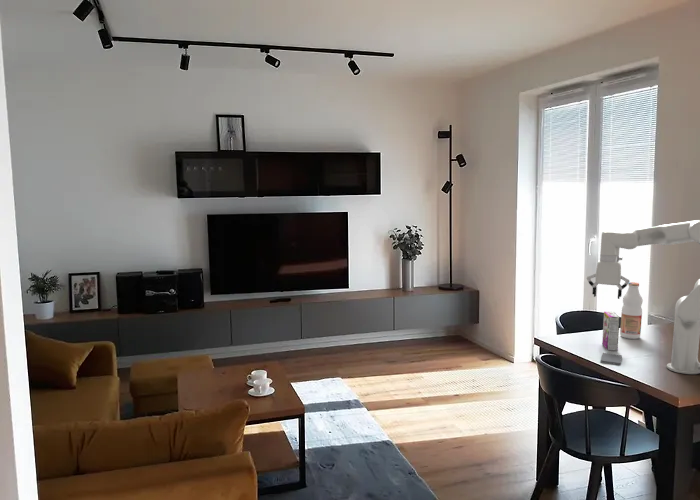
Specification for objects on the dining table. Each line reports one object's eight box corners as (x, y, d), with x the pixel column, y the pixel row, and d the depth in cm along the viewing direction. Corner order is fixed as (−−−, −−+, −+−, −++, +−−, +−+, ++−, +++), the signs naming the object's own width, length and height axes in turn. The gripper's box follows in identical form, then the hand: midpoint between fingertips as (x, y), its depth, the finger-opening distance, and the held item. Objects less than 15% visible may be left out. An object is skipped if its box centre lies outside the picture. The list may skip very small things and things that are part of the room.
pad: (621, 357, 263) (622, 355, 263) (620, 365, 252) (620, 363, 252) (602, 354, 267) (602, 352, 267) (600, 362, 256) (600, 360, 255)
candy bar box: (601, 344, 285) (603, 311, 283) (612, 344, 284) (614, 311, 282) (606, 350, 274) (608, 316, 272) (617, 351, 273) (620, 317, 271)
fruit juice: (615, 334, 303) (619, 281, 299) (631, 333, 305) (635, 281, 301) (628, 339, 293) (632, 284, 290) (644, 338, 296) (648, 284, 292)
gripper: (631, 259, 255) (628, 297, 258) (588, 256, 263) (586, 293, 265) (631, 261, 249) (628, 300, 251) (587, 258, 256) (585, 296, 258)
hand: (606, 297), depth 258 cm, fingers open, 9 cm apart
